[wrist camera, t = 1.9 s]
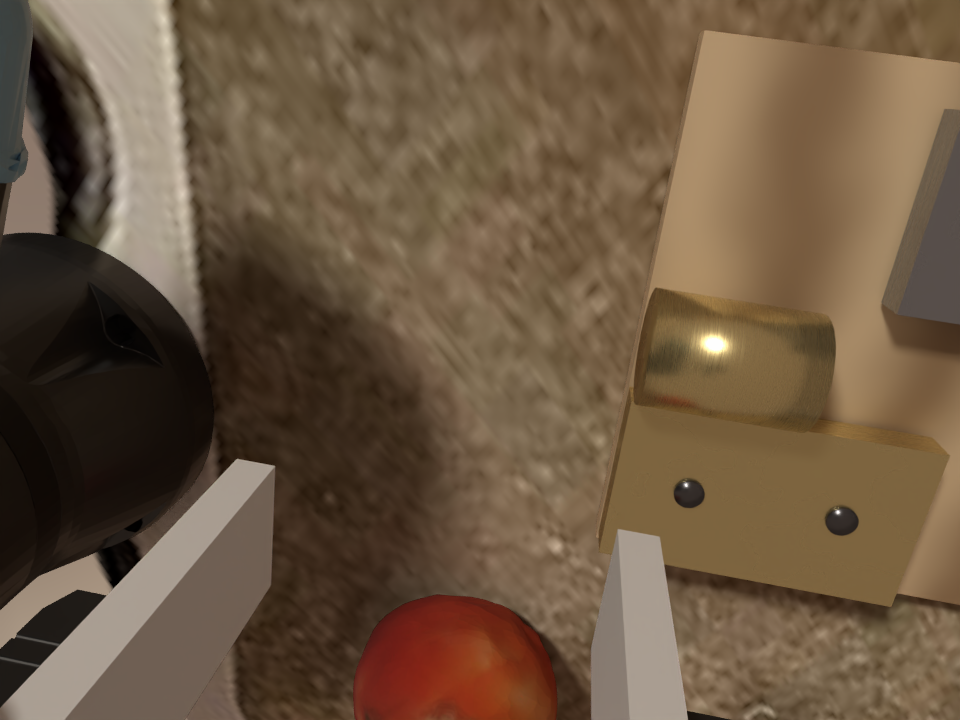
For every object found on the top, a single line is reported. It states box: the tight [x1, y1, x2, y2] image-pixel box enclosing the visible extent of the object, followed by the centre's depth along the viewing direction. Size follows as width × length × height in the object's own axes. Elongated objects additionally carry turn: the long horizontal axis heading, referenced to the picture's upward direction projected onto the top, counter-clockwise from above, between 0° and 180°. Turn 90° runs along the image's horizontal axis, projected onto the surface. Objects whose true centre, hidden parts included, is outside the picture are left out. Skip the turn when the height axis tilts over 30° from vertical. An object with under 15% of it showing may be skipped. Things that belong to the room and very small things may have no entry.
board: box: [596, 30, 960, 605], centre depth 30 cm, size 22×21×1 cm
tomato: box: [353, 594, 557, 720], centre depth 35 cm, size 9×9×8 cm
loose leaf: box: [598, 287, 950, 607], centre depth 29 cm, size 12×12×4 cm
